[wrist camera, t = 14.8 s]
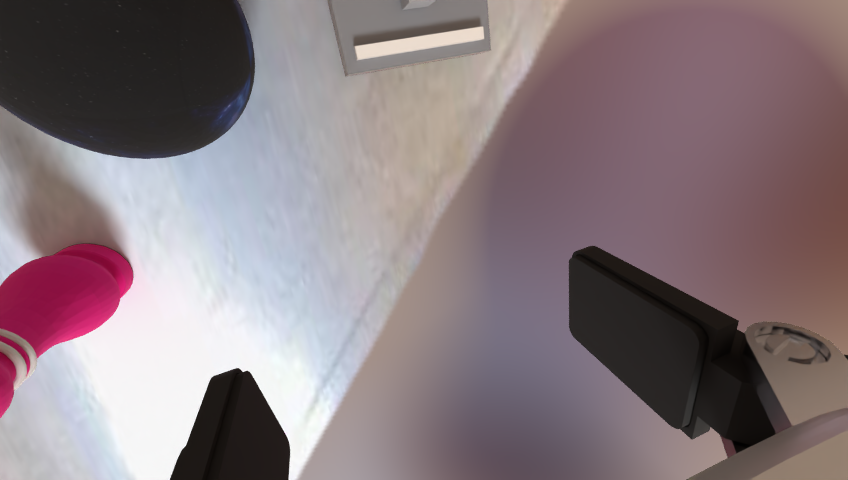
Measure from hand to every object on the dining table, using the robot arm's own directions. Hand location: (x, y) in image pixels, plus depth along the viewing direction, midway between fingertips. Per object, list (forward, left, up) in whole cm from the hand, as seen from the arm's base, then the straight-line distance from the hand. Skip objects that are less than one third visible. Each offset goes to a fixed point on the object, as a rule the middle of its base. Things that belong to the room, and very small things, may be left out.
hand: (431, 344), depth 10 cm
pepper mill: (+5, -26, -30) cm, 40 cm away
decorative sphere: (-12, -12, -30) cm, 34 cm away
